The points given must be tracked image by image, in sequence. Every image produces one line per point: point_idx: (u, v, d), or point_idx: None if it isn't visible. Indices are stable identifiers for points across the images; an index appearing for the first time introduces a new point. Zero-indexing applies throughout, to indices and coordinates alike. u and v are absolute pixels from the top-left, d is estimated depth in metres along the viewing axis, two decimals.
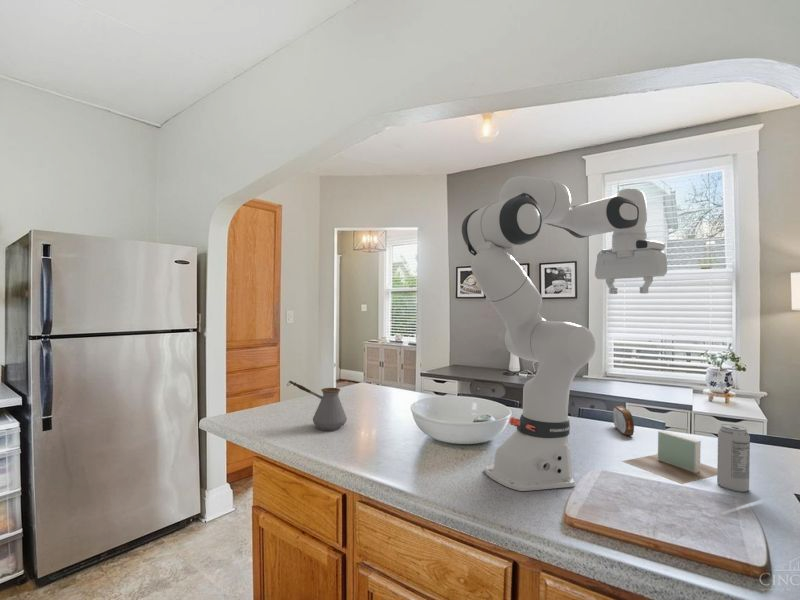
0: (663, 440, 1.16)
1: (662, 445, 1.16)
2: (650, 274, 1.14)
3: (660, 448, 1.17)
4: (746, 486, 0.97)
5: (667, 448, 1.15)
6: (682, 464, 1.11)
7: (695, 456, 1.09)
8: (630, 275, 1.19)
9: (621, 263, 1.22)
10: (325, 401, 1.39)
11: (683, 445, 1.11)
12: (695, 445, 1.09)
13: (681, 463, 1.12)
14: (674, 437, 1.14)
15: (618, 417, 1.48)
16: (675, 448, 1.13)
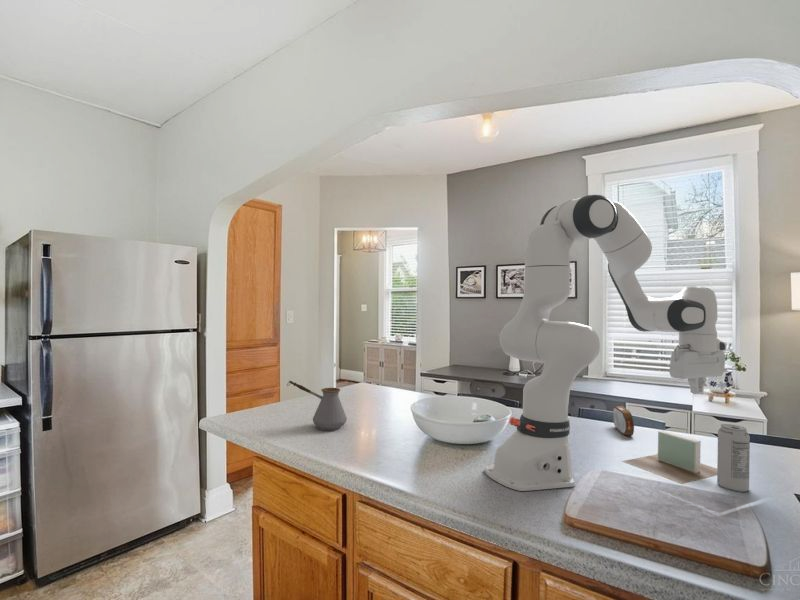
0: (663, 440, 1.16)
1: (662, 445, 1.16)
2: (719, 375, 1.19)
3: (660, 448, 1.17)
4: (746, 486, 0.97)
5: (667, 448, 1.15)
6: (682, 464, 1.11)
7: (695, 456, 1.09)
8: (707, 375, 1.17)
9: (701, 362, 1.16)
10: (325, 401, 1.39)
11: (683, 445, 1.11)
12: (695, 445, 1.09)
13: (681, 463, 1.12)
14: (674, 437, 1.14)
15: (618, 417, 1.48)
16: (675, 448, 1.13)
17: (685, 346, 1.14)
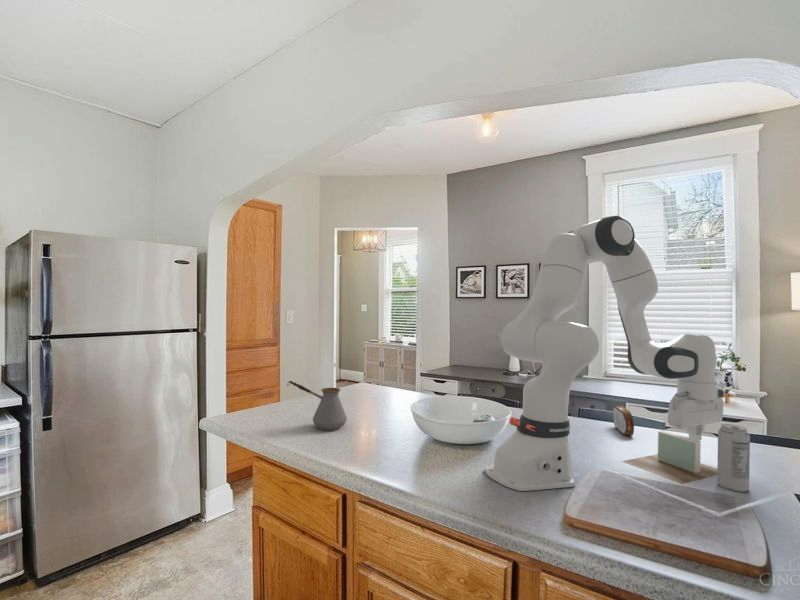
0: (663, 440, 1.16)
1: (662, 445, 1.16)
2: (717, 421, 1.19)
3: (660, 448, 1.17)
4: (746, 486, 0.97)
5: (667, 448, 1.15)
6: (682, 464, 1.11)
7: (695, 456, 1.09)
8: (705, 423, 1.16)
9: (699, 410, 1.15)
10: (325, 401, 1.39)
11: (683, 445, 1.11)
12: (695, 445, 1.09)
13: (681, 463, 1.12)
14: (674, 437, 1.14)
15: (618, 417, 1.48)
16: (675, 448, 1.13)
17: (683, 394, 1.14)
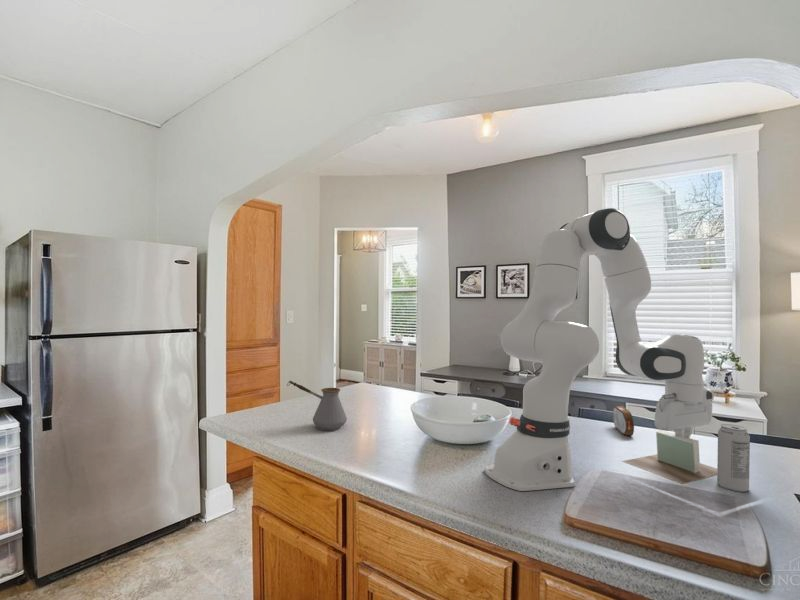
0: (662, 441, 1.16)
1: (661, 445, 1.16)
2: (706, 424, 1.16)
3: (659, 448, 1.17)
4: (746, 486, 0.97)
5: (666, 448, 1.15)
6: (682, 464, 1.11)
7: (694, 456, 1.09)
8: (694, 425, 1.14)
9: (687, 412, 1.13)
10: (325, 401, 1.39)
11: (681, 446, 1.11)
12: (693, 445, 1.09)
13: (681, 464, 1.12)
14: (672, 438, 1.13)
15: (618, 417, 1.48)
16: (674, 448, 1.13)
17: (671, 396, 1.12)
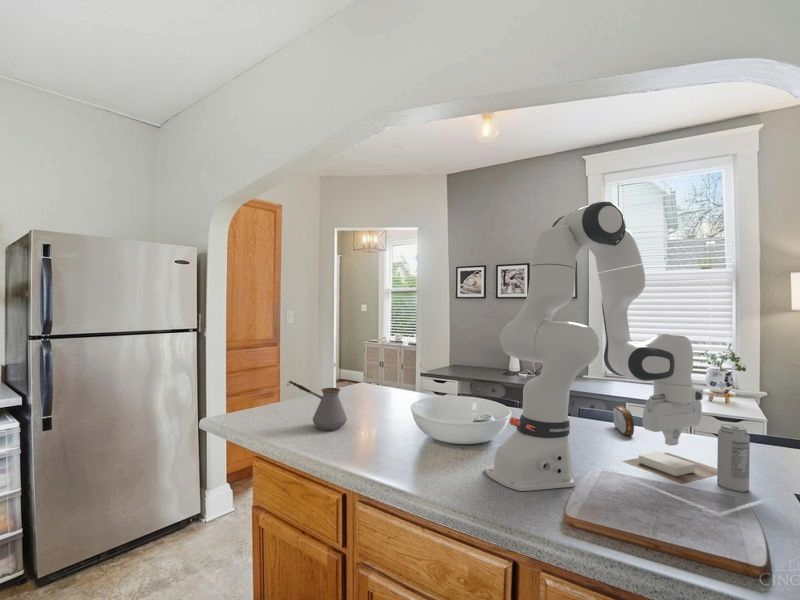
0: None
1: None
2: (695, 425, 1.14)
3: None
4: (746, 486, 0.97)
5: None
6: None
7: None
8: (682, 426, 1.12)
9: (675, 413, 1.11)
10: (325, 401, 1.39)
11: None
12: None
13: None
14: (656, 468, 1.10)
15: (618, 417, 1.48)
16: None
17: (659, 396, 1.09)
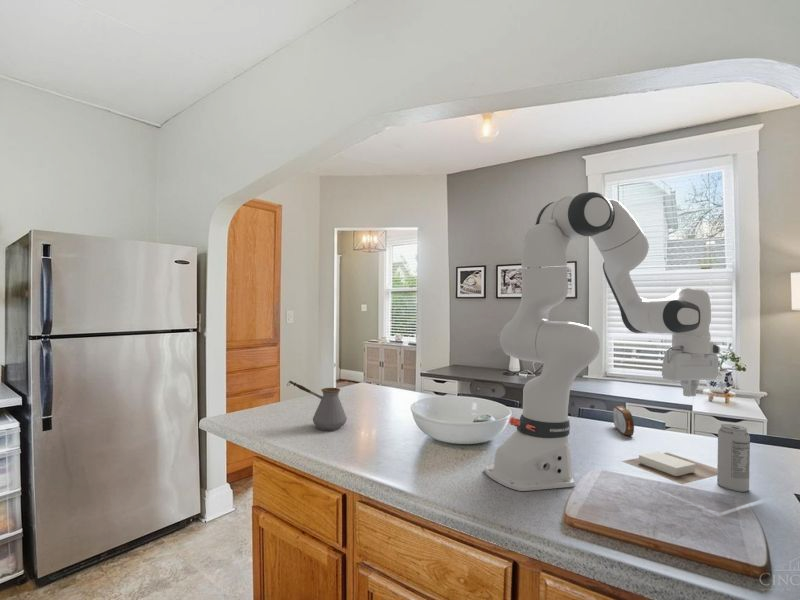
0: None
1: None
2: (712, 378, 1.18)
3: None
4: (746, 486, 0.97)
5: None
6: None
7: None
8: (700, 378, 1.15)
9: (694, 365, 1.14)
10: (325, 401, 1.39)
11: None
12: None
13: None
14: (656, 468, 1.10)
15: (618, 417, 1.48)
16: None
17: (678, 348, 1.13)
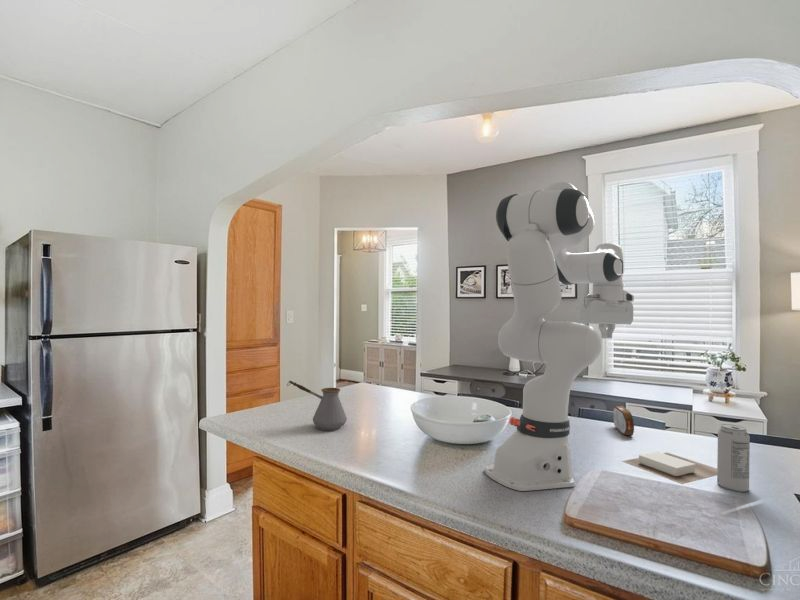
0: None
1: None
2: (628, 323, 1.35)
3: None
4: (746, 486, 0.97)
5: None
6: None
7: None
8: (615, 322, 1.32)
9: (609, 310, 1.31)
10: (325, 401, 1.39)
11: None
12: None
13: None
14: (656, 468, 1.10)
15: (618, 417, 1.48)
16: None
17: (594, 295, 1.30)
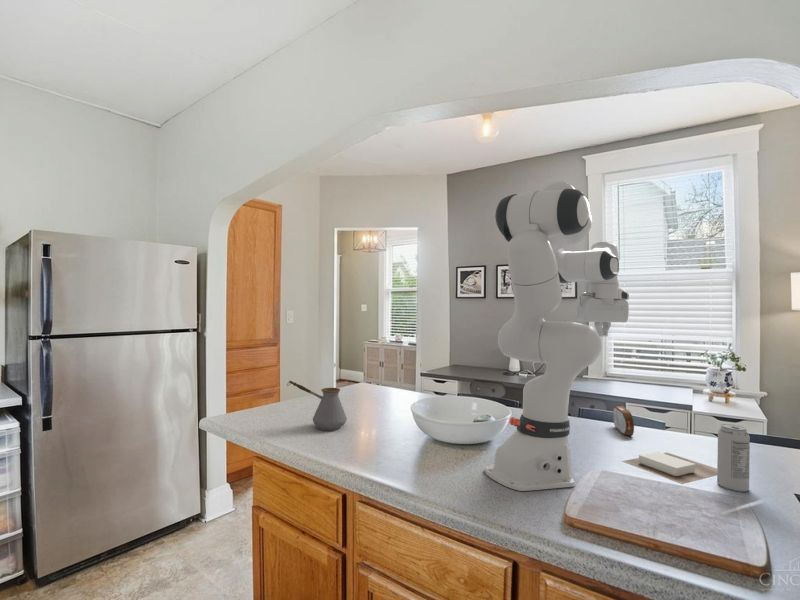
0: None
1: None
2: (623, 321, 1.36)
3: None
4: (746, 486, 0.97)
5: None
6: None
7: None
8: (611, 320, 1.33)
9: (604, 309, 1.32)
10: (325, 401, 1.39)
11: None
12: None
13: None
14: (656, 468, 1.10)
15: (618, 417, 1.48)
16: None
17: (590, 294, 1.31)
